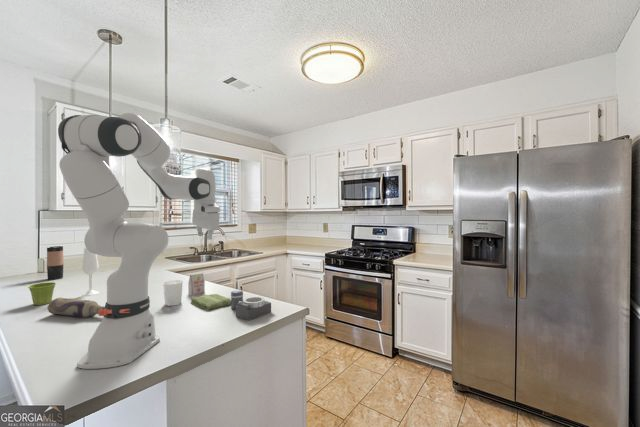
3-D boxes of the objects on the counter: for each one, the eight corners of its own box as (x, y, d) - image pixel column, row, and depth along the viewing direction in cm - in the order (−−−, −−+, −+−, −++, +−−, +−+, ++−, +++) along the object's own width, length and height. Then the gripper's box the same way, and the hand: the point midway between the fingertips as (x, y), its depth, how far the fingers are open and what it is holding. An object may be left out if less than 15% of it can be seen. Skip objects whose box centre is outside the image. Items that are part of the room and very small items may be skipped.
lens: (242, 309, 125) (242, 293, 125) (229, 310, 125) (229, 293, 125) (243, 305, 131) (243, 289, 130) (231, 306, 130) (231, 290, 130)
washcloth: (215, 297, 145) (215, 290, 145) (233, 305, 132) (233, 298, 132) (188, 303, 135) (188, 296, 135) (205, 312, 123) (205, 305, 123)
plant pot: (57, 303, 134) (57, 284, 134) (28, 308, 127) (28, 288, 127) (55, 299, 140) (55, 281, 140) (27, 303, 134) (27, 284, 133)
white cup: (174, 307, 129) (174, 284, 129) (159, 305, 130) (159, 283, 130) (186, 301, 136) (186, 280, 136) (171, 300, 138) (171, 279, 138)
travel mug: (65, 278, 183) (65, 246, 183) (49, 280, 177) (49, 248, 176) (61, 276, 187) (60, 245, 187) (45, 279, 181) (44, 247, 180)
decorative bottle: (45, 317, 117) (45, 300, 117) (65, 310, 125) (65, 295, 125) (97, 322, 112) (97, 304, 112) (115, 315, 119) (115, 299, 119)
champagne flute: (102, 292, 152) (101, 246, 152) (90, 295, 146) (90, 248, 145) (90, 291, 153) (90, 246, 153) (78, 295, 146) (78, 248, 146)
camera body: (248, 320, 113) (248, 305, 112) (235, 316, 118) (235, 300, 118) (271, 312, 122) (271, 297, 122) (258, 308, 127) (258, 294, 127)
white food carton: (188, 294, 149) (188, 274, 149) (201, 291, 154) (201, 272, 154) (191, 295, 146) (191, 275, 146) (204, 292, 151) (204, 273, 151)
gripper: (188, 204, 132) (188, 234, 134) (207, 209, 118) (207, 242, 119) (202, 204, 137) (202, 233, 138) (222, 208, 122) (221, 240, 124)
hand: (204, 237), depth 129 cm, fingers open, 8 cm apart
